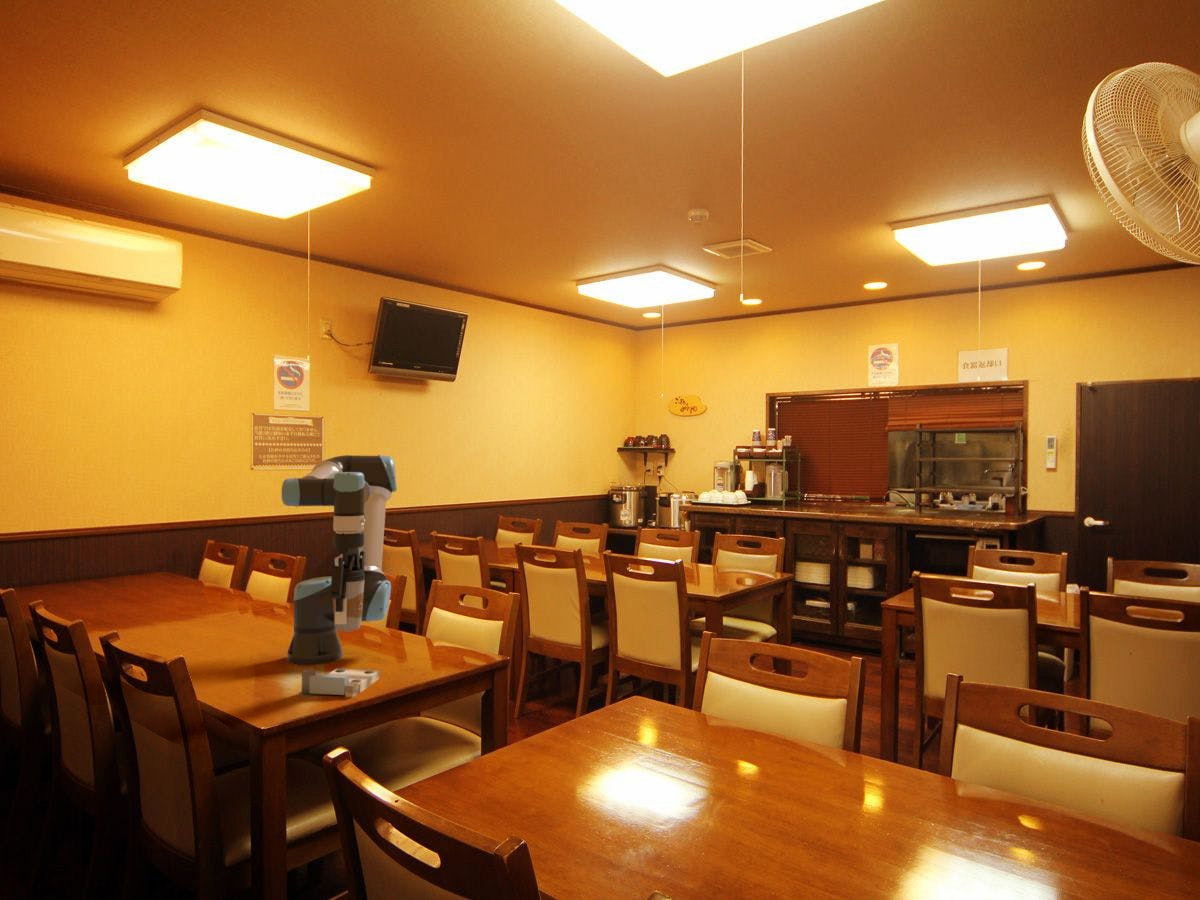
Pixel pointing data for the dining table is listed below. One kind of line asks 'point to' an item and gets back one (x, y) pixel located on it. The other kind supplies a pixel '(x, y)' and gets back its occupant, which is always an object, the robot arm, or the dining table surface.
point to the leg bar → (323, 683)
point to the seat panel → (354, 680)
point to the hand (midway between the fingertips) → (348, 620)
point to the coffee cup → (353, 600)
